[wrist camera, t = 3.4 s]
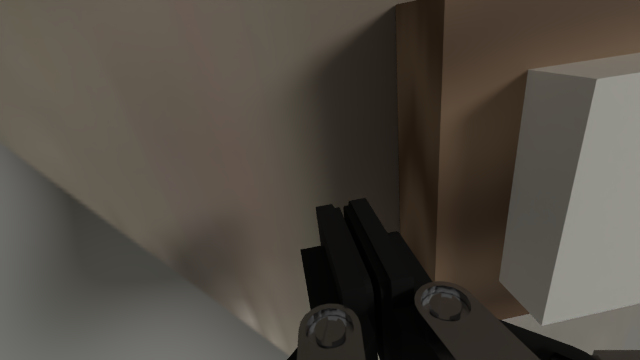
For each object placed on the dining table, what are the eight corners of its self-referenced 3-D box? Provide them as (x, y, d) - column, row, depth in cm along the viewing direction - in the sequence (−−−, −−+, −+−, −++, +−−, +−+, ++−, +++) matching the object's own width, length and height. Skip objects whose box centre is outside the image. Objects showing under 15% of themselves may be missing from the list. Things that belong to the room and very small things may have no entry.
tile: (528, 69, 11) (597, 79, 9) (688, 45, 12) (792, 48, 9) (498, 280, 15) (541, 325, 12) (620, 254, 15) (682, 293, 13)
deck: (395, 4, 13) (445, -6, 10) (683, -32, 14) (823, -54, 11) (401, 277, 19) (433, 335, 16) (605, 235, 20) (679, 279, 17)
